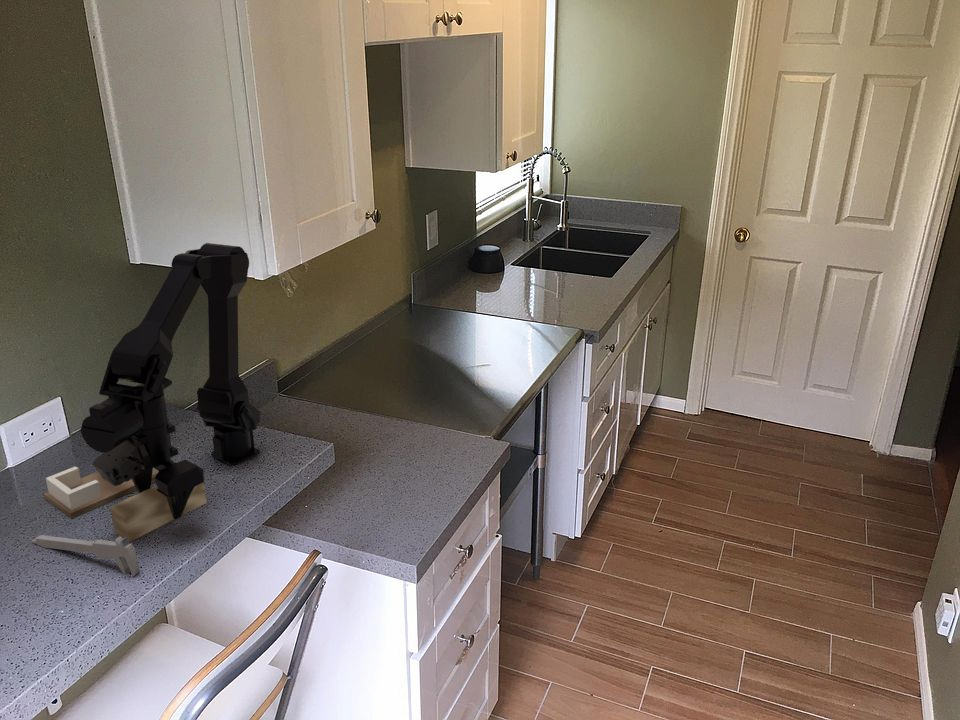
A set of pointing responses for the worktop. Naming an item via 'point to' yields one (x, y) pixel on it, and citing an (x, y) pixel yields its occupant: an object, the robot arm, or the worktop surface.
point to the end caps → (77, 496)
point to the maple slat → (149, 511)
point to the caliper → (97, 549)
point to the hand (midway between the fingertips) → (161, 507)
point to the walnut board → (107, 494)
